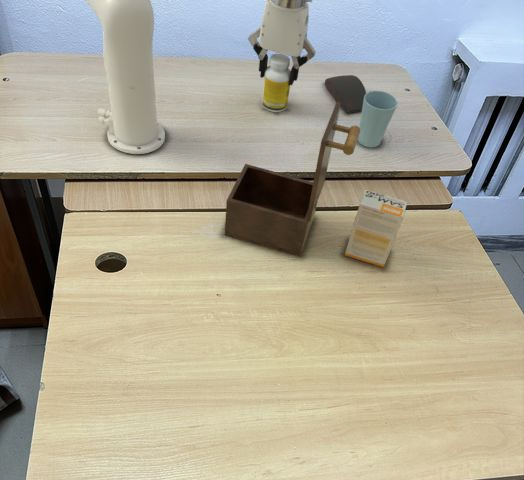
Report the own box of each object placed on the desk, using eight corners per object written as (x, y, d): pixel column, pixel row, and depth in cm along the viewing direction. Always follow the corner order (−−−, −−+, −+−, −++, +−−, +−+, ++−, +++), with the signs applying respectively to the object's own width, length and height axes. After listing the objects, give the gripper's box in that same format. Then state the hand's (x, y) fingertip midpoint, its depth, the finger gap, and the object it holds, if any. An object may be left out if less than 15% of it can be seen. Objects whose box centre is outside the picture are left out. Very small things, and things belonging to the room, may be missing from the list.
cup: (369, 127, 132) (381, 86, 123) (390, 144, 129) (404, 104, 120) (346, 136, 129) (357, 95, 120) (368, 154, 126) (380, 113, 117)
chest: (224, 235, 106) (226, 199, 98) (242, 198, 112) (245, 163, 105) (300, 256, 104) (307, 222, 97) (313, 219, 111) (321, 184, 104)
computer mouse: (346, 81, 143) (350, 66, 140) (371, 110, 136) (376, 95, 133) (320, 85, 140) (323, 70, 137) (344, 114, 134) (347, 99, 130)
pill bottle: (284, 115, 131) (291, 68, 121) (258, 110, 131) (263, 62, 121) (289, 101, 135) (296, 54, 125) (264, 96, 135) (269, 49, 125)
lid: (321, 139, 83) (353, 147, 83) (336, 101, 90) (366, 108, 89) (306, 220, 97) (333, 227, 96) (320, 182, 103) (346, 188, 103)
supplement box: (387, 252, 108) (409, 201, 97) (383, 268, 105) (404, 217, 94) (348, 239, 108) (365, 187, 98) (343, 255, 106) (359, 203, 95)
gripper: (331, -2, 114) (316, 80, 129) (254, -21, 115) (247, 62, 130) (323, 12, 110) (308, 95, 124) (243, -8, 111) (238, 77, 126)
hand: (277, 78), depth 127 cm, fingers closed on pill bottle, 6 cm apart
